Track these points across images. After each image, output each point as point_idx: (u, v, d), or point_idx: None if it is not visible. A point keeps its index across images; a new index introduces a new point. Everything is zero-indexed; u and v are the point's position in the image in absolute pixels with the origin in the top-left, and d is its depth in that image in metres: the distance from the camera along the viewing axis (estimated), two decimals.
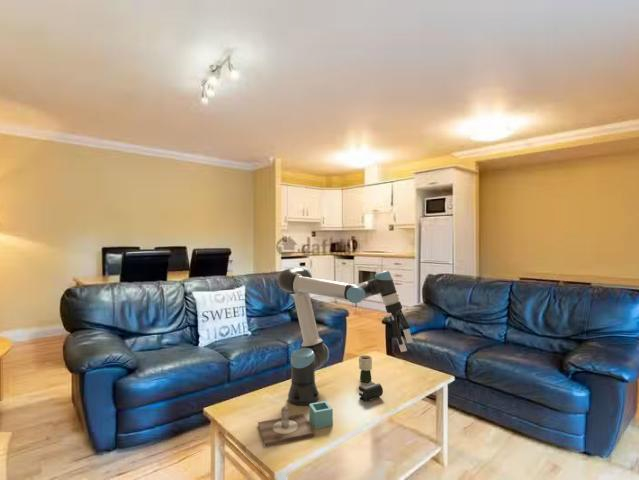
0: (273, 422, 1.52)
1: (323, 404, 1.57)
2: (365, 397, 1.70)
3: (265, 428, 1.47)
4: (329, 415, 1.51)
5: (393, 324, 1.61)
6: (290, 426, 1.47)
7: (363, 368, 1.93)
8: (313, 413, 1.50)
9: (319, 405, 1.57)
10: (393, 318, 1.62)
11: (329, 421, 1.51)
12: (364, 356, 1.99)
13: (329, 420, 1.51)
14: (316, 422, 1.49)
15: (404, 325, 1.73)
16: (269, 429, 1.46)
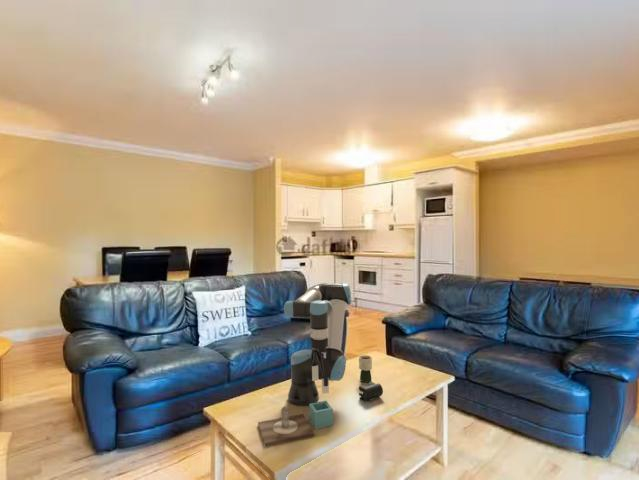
0: (273, 422, 1.52)
1: (323, 404, 1.57)
2: (365, 397, 1.70)
3: (265, 428, 1.47)
4: (329, 415, 1.51)
5: None
6: (290, 426, 1.47)
7: (363, 368, 1.93)
8: (313, 413, 1.50)
9: (319, 405, 1.57)
10: None
11: (329, 421, 1.51)
12: (364, 356, 1.99)
13: (329, 420, 1.51)
14: (316, 422, 1.49)
15: None
16: (269, 429, 1.46)
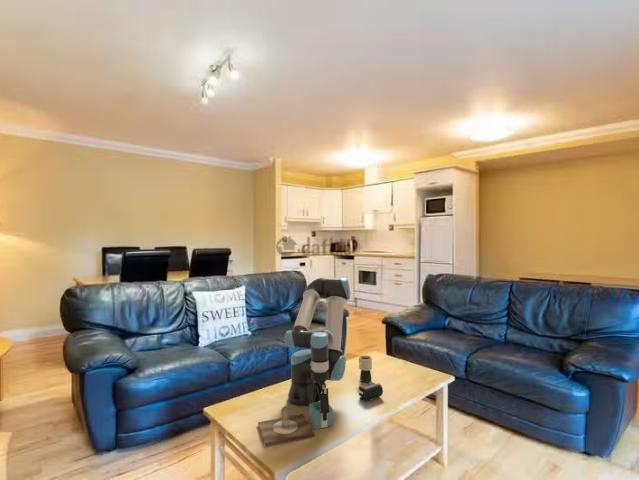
0: (273, 422, 1.52)
1: None
2: (365, 397, 1.70)
3: (265, 428, 1.47)
4: (329, 415, 1.51)
5: None
6: (290, 426, 1.47)
7: (363, 368, 1.93)
8: (313, 413, 1.50)
9: (319, 405, 1.57)
10: None
11: (329, 421, 1.51)
12: (364, 356, 1.99)
13: (329, 420, 1.51)
14: (316, 422, 1.49)
15: None
16: (269, 429, 1.46)
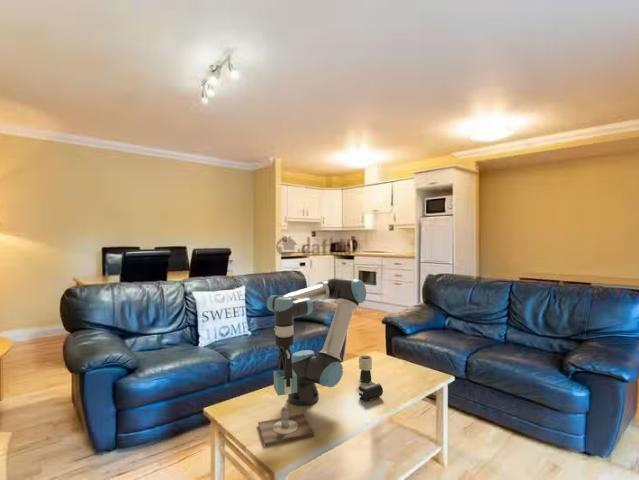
0: (273, 422, 1.52)
1: None
2: (365, 397, 1.70)
3: (265, 428, 1.47)
4: (293, 382, 1.45)
5: None
6: (290, 426, 1.47)
7: (363, 368, 1.93)
8: (276, 379, 1.44)
9: None
10: None
11: (293, 388, 1.45)
12: (364, 356, 1.99)
13: (293, 387, 1.45)
14: (279, 389, 1.43)
15: None
16: (269, 429, 1.46)
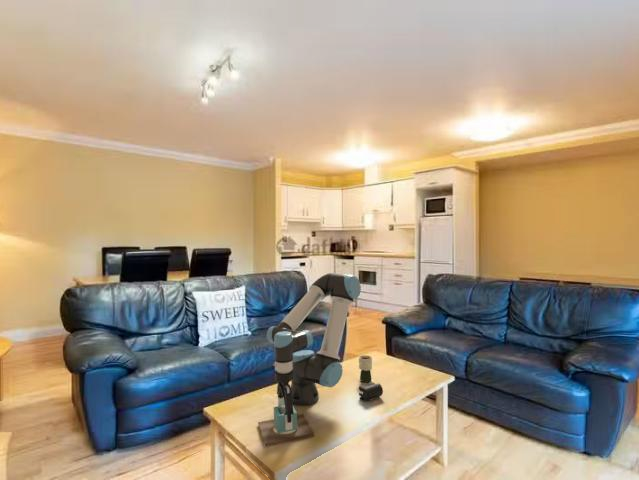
0: (273, 422, 1.52)
1: None
2: (365, 397, 1.70)
3: (265, 428, 1.47)
4: (293, 419, 1.45)
5: None
6: None
7: (363, 368, 1.93)
8: (276, 417, 1.44)
9: None
10: None
11: (293, 425, 1.45)
12: (364, 356, 1.99)
13: (293, 424, 1.45)
14: (279, 426, 1.43)
15: None
16: (269, 429, 1.46)
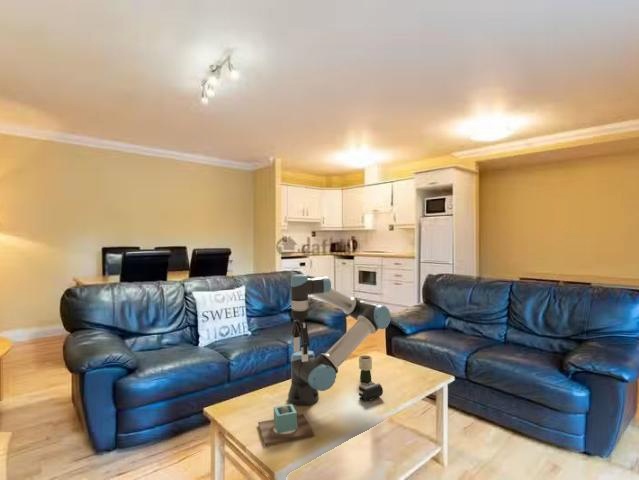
0: (273, 422, 1.52)
1: (288, 407, 1.51)
2: (365, 397, 1.70)
3: (265, 428, 1.47)
4: (293, 419, 1.45)
5: None
6: None
7: (363, 368, 1.93)
8: (276, 417, 1.44)
9: None
10: None
11: (293, 425, 1.45)
12: (364, 356, 1.99)
13: (293, 424, 1.45)
14: (279, 426, 1.43)
15: None
16: (269, 429, 1.46)
